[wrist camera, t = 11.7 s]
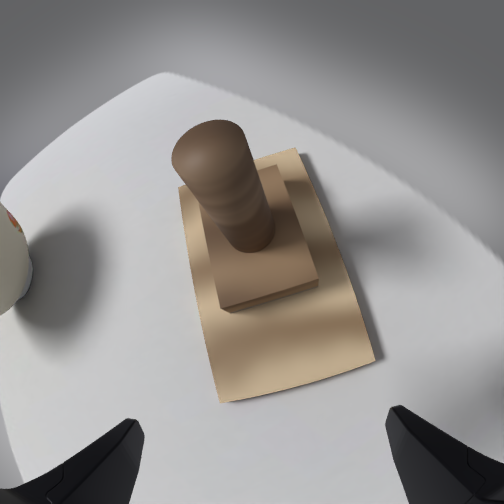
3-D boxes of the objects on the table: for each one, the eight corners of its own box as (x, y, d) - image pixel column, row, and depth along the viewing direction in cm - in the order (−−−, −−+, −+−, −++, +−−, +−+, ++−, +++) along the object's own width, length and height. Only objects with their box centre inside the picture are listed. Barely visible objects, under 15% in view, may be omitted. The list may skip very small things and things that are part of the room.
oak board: (372, 360, 19) (375, 360, 18) (223, 401, 21) (219, 403, 20) (296, 154, 27) (295, 147, 26) (182, 192, 28) (178, 187, 27)
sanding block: (318, 286, 21) (320, 213, 10) (230, 313, 22) (147, 270, 11) (280, 180, 25) (252, 70, 14) (206, 205, 26) (140, 113, 15)
